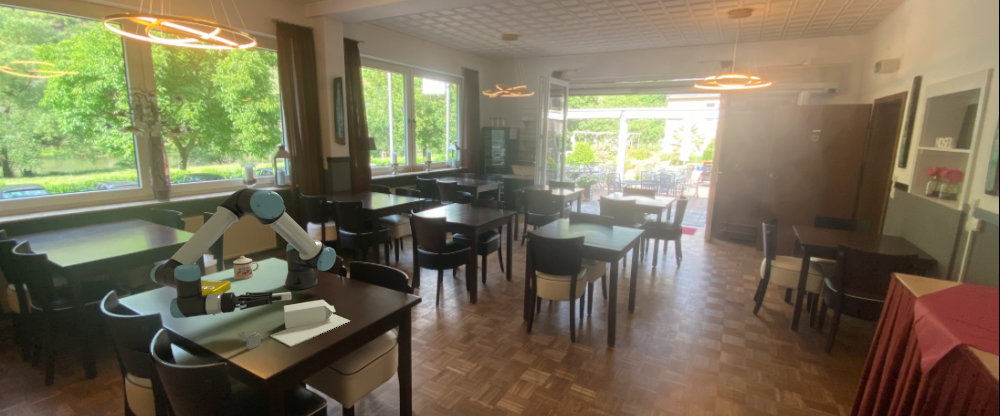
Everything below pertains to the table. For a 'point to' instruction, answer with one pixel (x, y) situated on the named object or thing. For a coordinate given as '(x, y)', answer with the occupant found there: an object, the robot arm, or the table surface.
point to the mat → (308, 331)
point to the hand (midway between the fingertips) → (290, 295)
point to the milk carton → (307, 313)
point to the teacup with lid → (243, 268)
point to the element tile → (215, 287)
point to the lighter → (250, 339)
